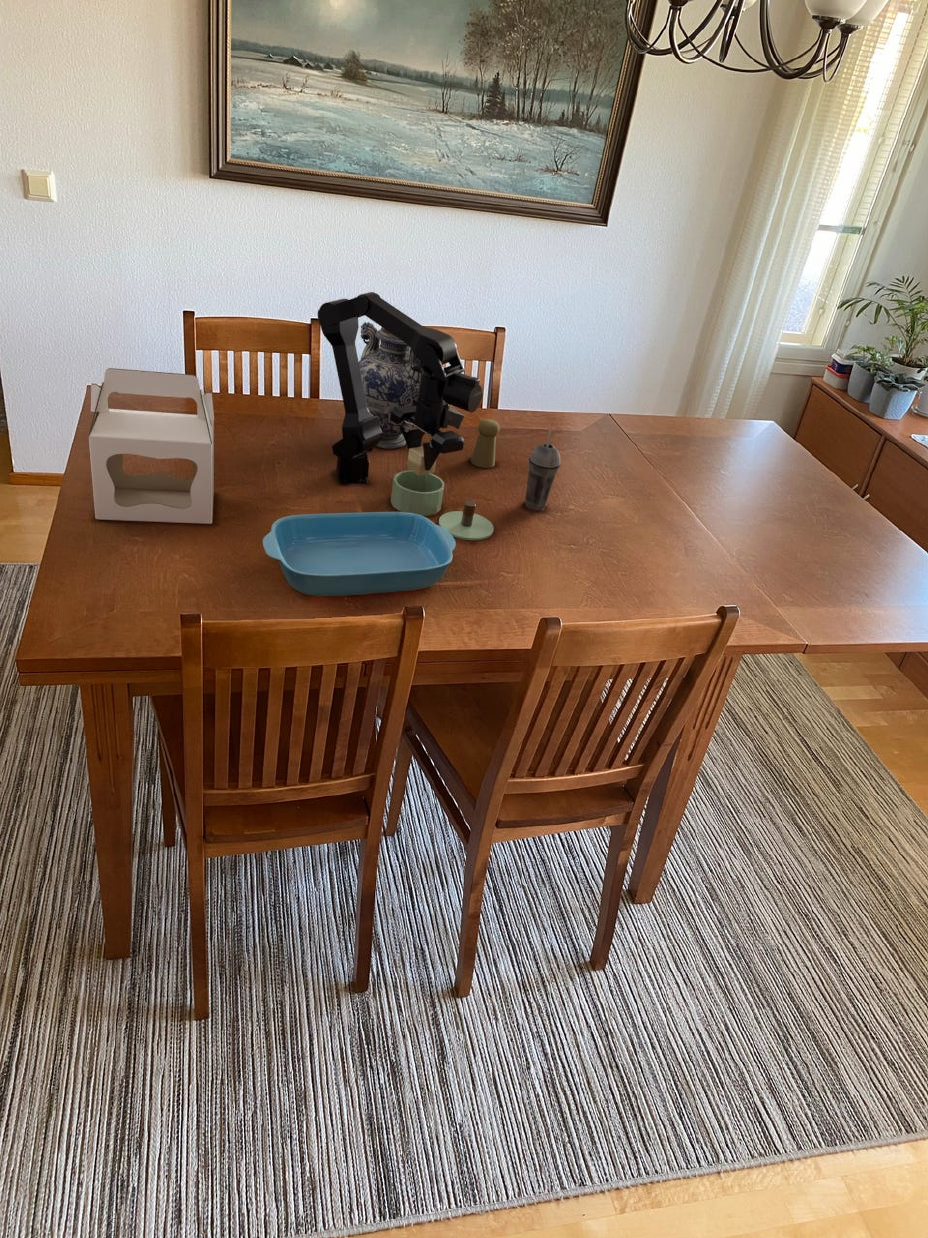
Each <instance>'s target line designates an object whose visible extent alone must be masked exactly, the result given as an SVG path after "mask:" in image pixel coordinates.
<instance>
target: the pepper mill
mask: <svg viewBox="0 0 928 1238" xmlns="http://www.w3.org/2000/svg"><path fill="white" fill-rule="evenodd" d="M477 428H478V433H479V434H478V437H477V440H476V443H475V446H474V449H473V453H472V455H471V458H470V463H471V464H472V465H474V466H475V467H479V468H482V469H483V468H484V469H490V468H493V467H494V466H495V464H496V463H495V462H496V445H497V444H496V441H497V436H498V434H499V432H500V429H501V427H500V425H499V423H498V422H497V421H496V420H494V419H489V418H488V419H487V418H485V419H482V420H481V421H480V422H479V424H478V426H477Z"/></svg>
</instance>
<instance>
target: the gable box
mask: <svg viewBox="0 0 928 1238" xmlns="http://www.w3.org/2000/svg"><path fill="white" fill-rule="evenodd" d="M111 394H117V395H118V394H128V395H140V396H154V397H166V398H167V397H168V398H169V397H170V398H182V399H187V400H191V399H192V400H194V401H195V403H196V407H197V410H196V411H197V413H196V414H190V413H174V412H161V411H149V410H148V411H147V410H133V409H118V408H117V409H116V408H109V397H110V395H111ZM214 410H215V409H214V401H213V392H211V391H210V392H209V391H207V392H204V390H203V389H201V387H200V382H199V377H197V376H196V375H195V374H190V373H189V374H188V373H177V372H163V371H154V370H153V371H152V370H151V371H150V370H139V369H126V368H114V367H113V368H112V367H108V368H107V369H106V370H105V372H104V378H103V381H101V386H100V385H99V384H98V383H93V382H92V383H91V385H90V412H92V413H93V412H94V413H93V417H92V421H91V425H90V428H89V432H88V445H89V456H90V470H91V481H92V483H91V484H92V493H93V494H92V495H93V506H94V507H93V508H94V518H95V519H96V520H99V521H100V520H101V521H102V520H103V521H126V522H152V523H177V524H178V523H179V524H201V525H205V524H206V525H211V524H213V515H214V514H213V513H214V494H215V490H214V489H215V488H214V482H215V481H214V480H215V477H214V476H215V469H214V468H215V465H214V464H215V411H214ZM124 454H125V455H136V456H142V457H146V458H150V459H151V458H152V459H158V460H165V459H169V460H170V459H186V460H190V461H192V462H193V466H194V475H193V476H192V477H189V478H181V477H177V476H175V475H172V474H168V473H161V472H160V473H159V472H158V473H157V472H154V473H153V472H152V473H147V474H138V475H130V474H127V473H125V471H124V470H123V463H124V456H123V455H124Z"/></svg>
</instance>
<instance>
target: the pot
mask: <svg viewBox="0 0 928 1238" xmlns="http://www.w3.org/2000/svg"><path fill="white" fill-rule="evenodd" d="M445 484H446V483H445V481H444V480H443V479H442V478H441V477H439V476H438V475H435V474H433V473H429V474H424V475H417V474H416V473H415V472H413V471H412V470H410V469H408V470H407V469H406V470H402V471H399V472H397V473H396V474H394V476H393V479H392V486H391V493H390V494H391V495H390V503H391V505H392V507H393V508H395V509H396V510H397V511H398V512H405V513H413V514H418V515H421V516H424V517H429V516H433V515H436V514H437V513H439V512H440V511H441V509H442V503H443V497H444V492H445V491H444V490H445Z"/></svg>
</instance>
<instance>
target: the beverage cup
mask: <svg viewBox="0 0 928 1238" xmlns="http://www.w3.org/2000/svg"><path fill="white" fill-rule="evenodd" d="M551 436H552V427H549V429H548V434H547V440H546V443H542V444H539V445H537V446H536V447H535V448H534V449H532V452H531V453H530V456H529V457H528V475H527V484H526V490H525V491H526V492H525V502H524V504H525V506H526V507H527V508H529V509H531V510H535V511H541V512H543V511H544V510H545V507H546V505H547V503H548V499H549V497H550V494H551V490H552V487H553V484H554V481H555V478H556V476H557V473H558V471H559V469H560V468H561V454H560V452H559V450H558V449H557V448H556V447H555V446H554V445H553V444H551V443H550V440H551Z"/></svg>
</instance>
